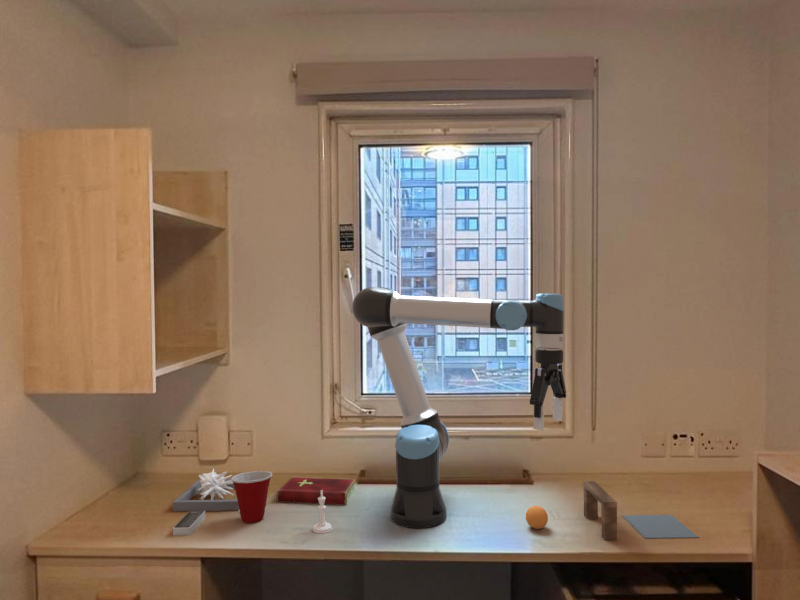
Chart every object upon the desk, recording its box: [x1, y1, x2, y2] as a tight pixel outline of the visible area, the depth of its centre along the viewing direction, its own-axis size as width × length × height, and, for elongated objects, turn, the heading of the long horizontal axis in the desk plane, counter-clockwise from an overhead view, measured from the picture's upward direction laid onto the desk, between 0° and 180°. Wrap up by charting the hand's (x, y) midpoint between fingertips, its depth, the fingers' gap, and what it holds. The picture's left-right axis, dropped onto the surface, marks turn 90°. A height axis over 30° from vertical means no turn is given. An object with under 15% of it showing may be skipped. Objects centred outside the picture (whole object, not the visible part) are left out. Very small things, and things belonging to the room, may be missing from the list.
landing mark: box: [622, 514, 700, 539], centre depth 133 cm, size 13×13×1 cm
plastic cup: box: [230, 470, 273, 524], centre depth 141 cm, size 11×11×12 cm
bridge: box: [583, 480, 618, 541], centre depth 133 cm, size 3×14×9 cm, turn 0°
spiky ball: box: [198, 468, 235, 500], centre depth 157 cm, size 11×12×8 cm
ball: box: [525, 505, 549, 530], centre depth 133 cm, size 6×6×6 cm
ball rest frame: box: [172, 478, 240, 512], centre depth 156 cm, size 18×18×2 cm
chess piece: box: [312, 490, 333, 534], centre depth 134 cm, size 5×5×10 cm
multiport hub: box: [172, 511, 206, 536], centre depth 137 cm, size 4×11×2 cm, turn 0°
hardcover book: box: [276, 476, 357, 506], centre depth 157 cm, size 12×21×4 cm, turn 81°
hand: (548, 424), depth 146 cm, fingers open, 13 cm apart
